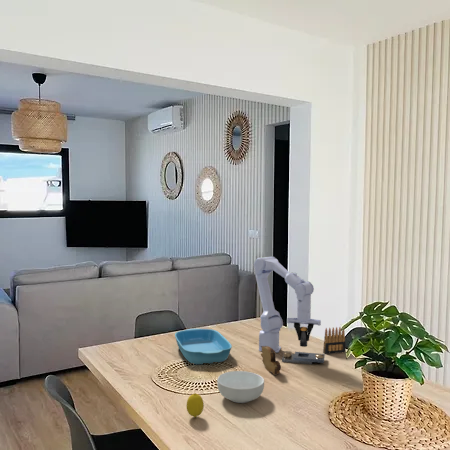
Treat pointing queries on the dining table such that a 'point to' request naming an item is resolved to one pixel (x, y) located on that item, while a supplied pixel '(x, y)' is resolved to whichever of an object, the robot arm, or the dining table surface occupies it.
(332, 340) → the ammunition clip
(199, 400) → the lemon
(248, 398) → the cereal bowl
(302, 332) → the pin
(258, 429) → the dining table surface
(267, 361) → the wooden carving
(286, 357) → the chain end left
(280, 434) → the dining table surface
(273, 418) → the dining table surface
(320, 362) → the chain end right
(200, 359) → the casserole dish
